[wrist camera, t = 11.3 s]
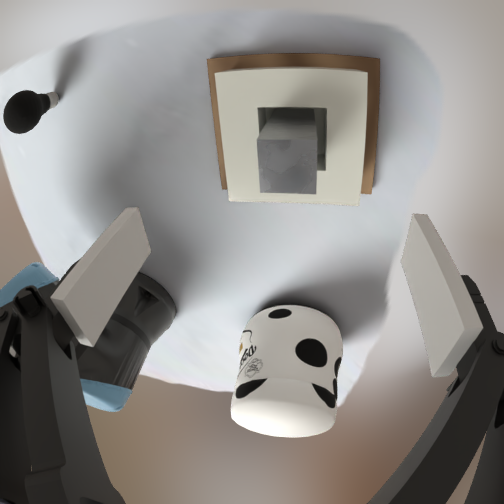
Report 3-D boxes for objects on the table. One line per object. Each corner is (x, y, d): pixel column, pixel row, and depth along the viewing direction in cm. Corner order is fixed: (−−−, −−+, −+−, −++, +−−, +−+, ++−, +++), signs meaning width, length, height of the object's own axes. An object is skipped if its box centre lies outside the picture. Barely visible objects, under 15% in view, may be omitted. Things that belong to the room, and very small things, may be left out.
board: (224, 185, 37) (222, 189, 36) (210, 58, 28) (206, 59, 27) (369, 189, 34) (371, 194, 33) (377, 58, 24) (379, 58, 23)
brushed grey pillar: (276, 144, 31) (259, 192, 21) (274, 108, 28) (256, 139, 19) (313, 145, 30) (316, 194, 21) (313, 109, 28) (317, 140, 18)
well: (241, 178, 35) (229, 201, 30) (230, 69, 27) (214, 73, 22) (352, 181, 33) (359, 206, 28) (356, 69, 25) (367, 72, 20)
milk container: (226, 310, 52) (198, 402, 38) (318, 281, 44) (314, 390, 30) (274, 361, 60) (261, 441, 46) (354, 342, 52) (356, 432, 38)
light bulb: (73, 111, 33) (24, 134, 25) (49, 120, 34) (2, 144, 26) (66, 74, 30) (14, 91, 22) (41, 86, 31) (-8, 105, 23)
